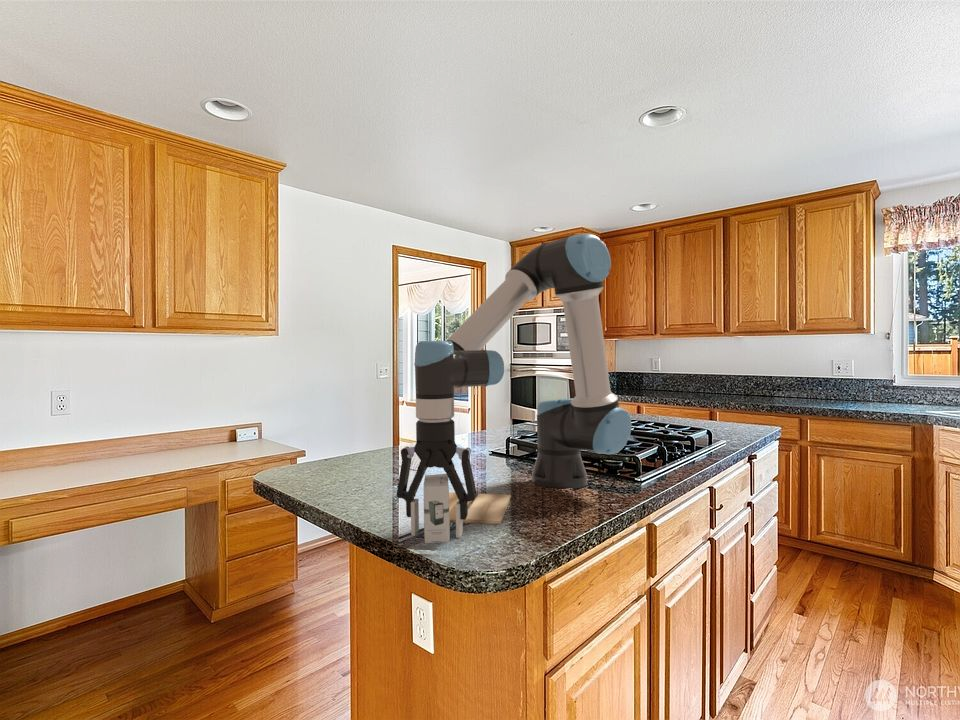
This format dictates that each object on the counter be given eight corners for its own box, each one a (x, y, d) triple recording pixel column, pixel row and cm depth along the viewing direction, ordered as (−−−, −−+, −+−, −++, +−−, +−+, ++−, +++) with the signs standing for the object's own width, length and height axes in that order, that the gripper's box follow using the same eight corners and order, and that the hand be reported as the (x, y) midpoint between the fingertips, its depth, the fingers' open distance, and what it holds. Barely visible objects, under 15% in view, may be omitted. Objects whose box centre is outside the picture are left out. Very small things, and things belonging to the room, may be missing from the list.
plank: (510, 499, 123) (510, 494, 123) (500, 526, 104) (500, 520, 104) (478, 498, 124) (478, 493, 124) (463, 524, 106) (462, 518, 106)
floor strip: (476, 498, 125) (476, 493, 125) (459, 526, 105) (459, 519, 105) (449, 497, 126) (449, 492, 126) (427, 524, 107) (427, 518, 107)
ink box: (425, 530, 103) (424, 473, 103) (449, 529, 103) (448, 472, 103) (423, 547, 94) (422, 484, 94) (450, 545, 95) (449, 483, 95)
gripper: (491, 417, 100) (493, 529, 101) (390, 416, 104) (392, 525, 104) (485, 422, 93) (487, 544, 93) (377, 421, 97) (379, 538, 97)
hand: (437, 534), depth 99 cm, fingers open, 8 cm apart
